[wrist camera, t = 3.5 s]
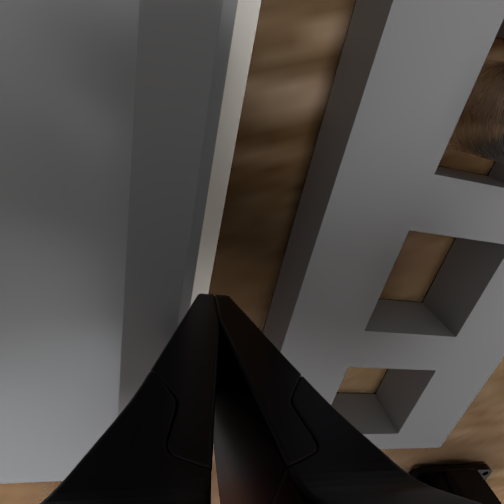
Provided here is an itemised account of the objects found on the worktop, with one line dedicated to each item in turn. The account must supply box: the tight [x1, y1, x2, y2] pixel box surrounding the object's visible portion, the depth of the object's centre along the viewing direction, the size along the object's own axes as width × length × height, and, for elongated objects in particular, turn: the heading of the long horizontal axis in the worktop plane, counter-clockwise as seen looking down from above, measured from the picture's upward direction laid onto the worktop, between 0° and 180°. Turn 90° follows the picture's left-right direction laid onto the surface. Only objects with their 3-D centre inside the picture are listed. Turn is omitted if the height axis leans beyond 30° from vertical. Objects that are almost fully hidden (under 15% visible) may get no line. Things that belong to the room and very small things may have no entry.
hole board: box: [263, 0, 504, 449], centre depth 14 cm, size 20×11×2 cm, turn 168°
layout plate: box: [190, 0, 261, 306], centre depth 12 cm, size 16×9×1 cm, turn 168°
